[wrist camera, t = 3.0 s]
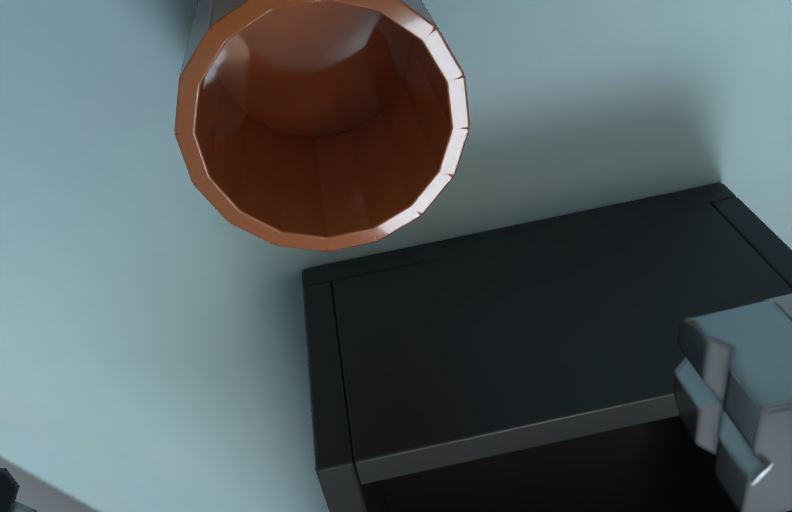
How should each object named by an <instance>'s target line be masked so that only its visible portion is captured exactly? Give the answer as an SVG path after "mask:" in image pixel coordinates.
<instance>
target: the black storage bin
mask: <svg viewBox="0 0 792 512" xmlns="http://www.w3.org/2000/svg"><path fill="white" fill-rule="evenodd" d="M302 285H303V299H304V313H305V327H306V342H307V356H308V370H309V384H310V399H311V413H312V427H313V441H314V455H315V470H316V473H317V476H318V479H319V482H320V485H321V488H322V491H323V494H324V497H325V500H326V503H327V506H328V509H329V512H738V511H737V509H736V508H735V506H734V505H733V503H732V502H731V500H730V499H729V497H728V495H727V494H726V492H725V491H724V489H723V488H722V486H721V485H720V483H719V481H718V480H717V478H716V477H715V475H714V467H715V459H716V456H715V455H713V454H712V453H710V452H708V451H706V450H704V449H702V448H701V447H699V446H697V445H695V444H694V442H693V440H692V439H691V437H690V436H689V434H688V432H687V431H686V429H685V427H684V425H683V422H682V420H681V418H680V415H679V413H678V410H677V405H676V400H675V396H674V391H673V389H674V370H675V369H676V368H677V367H678V366H679V364H680V363H681V362H682V361H683V359H684V358H685V357H686V356H685V355H684V353H683V352H682V350H681V349H680V347H679V346H678V345H677V337H678V328H679V326H680V324H681V322H682V320H683V319H684V318H687V317H692V316H696V315H700V314H705V313H709V312H714V311H718V310H723V309H727V308H732V307H736V306H740V305H745V304H749V303H754V302H758V301H764V300H766V299H770V298H775V297H779V296H783V295H788V294H792V250H791V249H790V248H789V247H788V246H787V245H786V244H785V243H784V242H783V241H782V240H781V239H780V238H779V237H778V236H777V235H776V234H775V233H774V232H773V231H772V230H771V229H769V228H768V227H767V226H766V225H765V224H764V223H763V222H762V221H761V220H760V219H759V218H758V217H757V216H756V215H755V214H754V213H753V212H752V211H751V210H750V209H749V208H748V207H747V206H746V205H745V204H744V203H743V202H742V201H741V200H740V199H739V198H736V196H735V195H734V194H733V193H732V192H731V191H730V190H729V189H728V188H727V187H726V186H725V185H724V184H716V185H712V186H707V187H702V188H697V189H692V190H687V191H683V192H678V193H673V194H668V195H663V196H659V197H654V198H649V199H644V200H639V201H635V202H630V203H625V204H620V205H615V206H610V207H606V208H601V209H596V210H591V211H586V212H582V213H577V214H572V215H567V216H562V217H558V218H553V219H548V220H543V221H538V222H533V223H529V224H524V225H519V226H514V227H509V228H505V229H500V230H495V231H490V232H485V233H481V234H476V235H471V236H466V237H461V238H456V239H452V240H447V241H442V242H437V243H432V244H428V245H423V246H418V247H413V248H408V249H403V250H399V251H394V252H389V253H384V254H379V255H375V256H370V257H365V258H360V259H355V260H351V261H346V262H341V263H336V264H331V265H326V266H322V267H317V268H312V269H307V270H303V271H302ZM786 512H792V510H791V511H786Z"/></svg>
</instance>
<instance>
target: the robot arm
mask: <svg viewBox="0 0 792 512" xmlns="http://www.w3.org/2000/svg"><path fill="white" fill-rule="evenodd" d="M677 345H678V346H679V347H680V349H681V350H682V352H683V353H684V355H685V356H686V357H685V358H684V359H683V361H682V362H681V363H680V364H679V366H678V367H677V368H676V369H675V370H674V389H673V391H674V396H675V400H676V405H677V410H678V413H679V415H680V418H681V420H682V422H683V425H684V427H685V429H686V431H687V432H688V434H689V436H690V437H691V439H692V440H693V442H694V444H695V445H697V446H699V447H701V448H702V449H704V450H706V451H708V452H710V453H712V454H713V455H715V456H716V459H715V467H714V475H715V477H716V478H717V480H718V481H719V483H720V485H721V486H722V488H723V489H724V491H725V492H726V494H727V495H728V497H729V499H730V500H731V502H732V503H733V505H734V506H735V508H736V509H737V511H738V512H786V511H791V510H792V294H788V295H783V296H779V297H775V298H770V299H766V300H764V301H758V302H754V303H749V304H745V305H740V306H736V307H732V308H727V309H723V310H718V311H714V312H709V313H705V314H700V315H696V316H692V317H687V318H684V319H683V320H682V322H681V324H680V326H679V328H678V337H677ZM19 487H20V486H19V485H18V483H17V482H16V481H15V479H14V478H13V477H12V475H11V474H10V473H9V472H8V470H7V469H6V468H0V512H37V511H36V510H34V509H32V508H30V507H28V506H25V505H23V504H21V503H19V502H16V501H15V499H16V496H17V493H18V490H19Z"/></svg>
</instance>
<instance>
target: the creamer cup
mask: <svg viewBox="0 0 792 512" xmlns="http://www.w3.org/2000/svg"><path fill="white" fill-rule="evenodd" d="M469 126H470V121H469V111H468V101H467V91H466V81H465V76H464V72H463V70H462V69H461V67H460V65H459V63H458V62H457V60H456V58H455V56H454V55H453V53H452V51H451V49H450V48H449V46H448V44H447V43H446V41H445V39H444V37H443V36H442V34H441V32H440V30H439V29H438V27H437V25H436V24H435V22H434V20H433V19H432V17H431V15H430V14H429V12H428V10H427V9H426V7H425V5H424V4H423V2H422V0H199V2H198V5H197V9H196V13H195V17H194V21H193V25H192V29H191V33H190V37H189V41H188V45H187V49H186V53H185V57H184V61H183V65H182V69H181V73H180V77H179V85H178V97H177V108H176V119H175V136H176V139H177V142H178V145H179V147H180V150H181V153H182V156H183V158H184V161H185V164H186V167H187V170H188V172H189V175H190V178H191V181H192V182H193V183H194V186H195V187H196V188H197V189H198V190H199V191H200V192H201V193H202V194H203V195H204V196H205V197H206V198H207V200H208V201H209V202H210V203H211V204H212V205H213V206H214V207H215V208H216V209H217V210H218V211H219V212H220V214H221V215H222V216H223V217H224V218H225V219H226V220H227V221H228V222H230V223H231V224H233V225H235V226H237V227H239V228H241V229H243V230H245V231H247V232H249V233H251V234H253V235H255V236H257V237H259V238H261V239H263V240H265V241H267V242H269V243H271V244H274V245H277V246H283V247H291V248H300V249H308V250H316V251H325V252H326V251H334V250H339V249H344V248H348V247H353V246H358V245H363V244H368V243H373V242H376V241H377V240H378V241H379V240H381V239H383V238H384V237H386V236H388V235H390V234H391V233H393V232H395V231H396V230H398V229H400V228H401V227H403V226H405V225H406V224H408V223H410V222H412V221H413V220H415V219H417V218H418V217H420V216H421V214H423V213H424V212H425V211H426V210H427V209H428V207H429V206H430V205H431V204H432V203H433V201H434V200H435V199H436V198H437V196H438V195H439V194H440V193H441V192H442V190H443V189H444V188H445V187H446V186H447V184H448V183H449V182H450V181H451V180H452V178H453V175H455V172H456V169H457V166H458V163H459V160H460V157H461V154H462V150H463V147H464V144H465V141H466V138H467V135H468V132H469Z"/></svg>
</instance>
